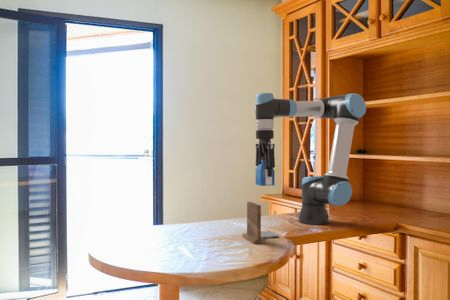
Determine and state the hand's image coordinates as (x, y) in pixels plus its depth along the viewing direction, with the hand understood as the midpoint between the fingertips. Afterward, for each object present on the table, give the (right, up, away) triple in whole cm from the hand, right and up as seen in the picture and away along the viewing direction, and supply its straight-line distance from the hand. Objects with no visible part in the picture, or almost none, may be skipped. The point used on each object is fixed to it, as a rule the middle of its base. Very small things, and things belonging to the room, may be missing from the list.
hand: (265, 183), depth 168 cm
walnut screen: (-5, -23, -7) cm, 24 cm away
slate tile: (0, -22, +1) cm, 22 cm away
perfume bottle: (0, -1, 0) cm, 1 cm away
